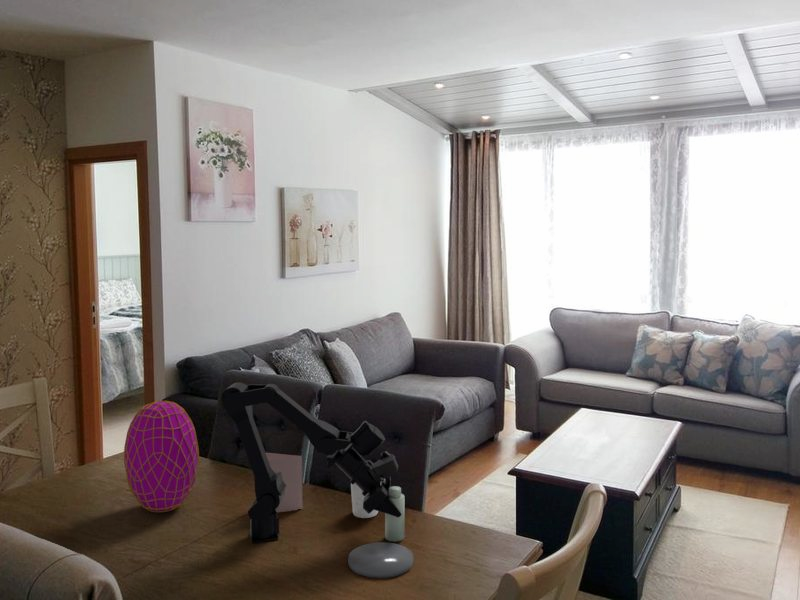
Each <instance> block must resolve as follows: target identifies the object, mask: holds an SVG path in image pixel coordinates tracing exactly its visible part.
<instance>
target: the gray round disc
mask: <svg viewBox="0 0 800 600" xmlns="http://www.w3.org/2000/svg"><path fill="white" fill-rule="evenodd" d="M347 560H348V562H347V565H348V567H349V569H350V570H351V571H353V573H355V574H357V575H359V576H363V577H367V578H372V579H389V578H393V577H394V578H395V577H398V576H400V575H401V576H402V575H403V574H405V573H407V572H409V571H410V570H411V569H412V568H413V566H414V554H413V552H412V551H411V550H410V549H409V548H407V547H406V546H404V545H401V544H397V543H393V542H387V541H386V542H384V541H383V542H371V543H370V542H369V543H366V544H362V545H360V546H357V547H355V548H354V549H353V550H351V551H350V552H349V554H348V558H347Z"/></svg>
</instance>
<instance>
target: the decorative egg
mask: <svg viewBox="0 0 800 600" xmlns="http://www.w3.org/2000/svg"><path fill="white" fill-rule="evenodd" d="M194 425H195V424H194V423H193V420H192V419H191V417H190V416H189V414H188V413H187V411H186V410H185V409H184V408H183V407H182V406H180V405H179V404H178V403H177V402H174V401H169V400H156V401H153V402H150V403H147V404H145V405H143V406H141V408H140V409H139V410H138V411H137V412H136V413H135V415H134V416H133V418H132V420H131V422H130V424H129V426H128V429H127V432H126V436H125V443H124V448H123V464H124V469H125V474H126V479H127V484H128V487H129V489H130V491H131V493H132V495H133V496H134V499H136V501H137V502H138V503H139V505H140V506H141V507H142V508H143V509H145V510H147V511H148V512H152V513H166V512H170V511H173V510H176V509H178V508H179V507H180V506H181V505H182V504H183V503H184V502H186V500H187V499H188V496H189V495H190V493H191V492H192V490H193V487H194V485H195V482H196V479H197V473H198V468H199V462H200V451H199V450H200V449H199V443H198V438H197V432H196V428H195V426H194Z"/></svg>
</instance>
